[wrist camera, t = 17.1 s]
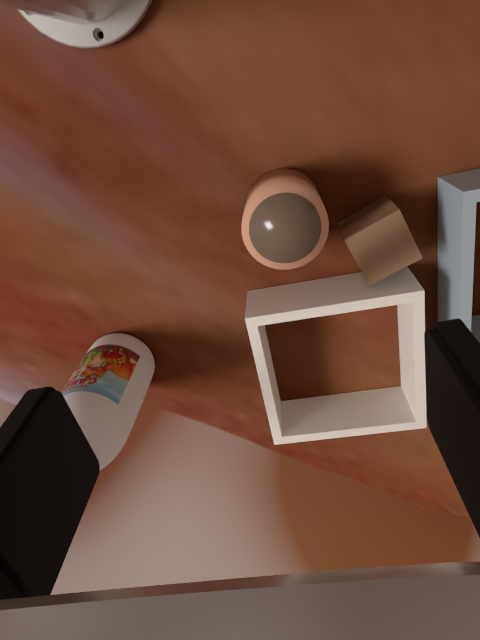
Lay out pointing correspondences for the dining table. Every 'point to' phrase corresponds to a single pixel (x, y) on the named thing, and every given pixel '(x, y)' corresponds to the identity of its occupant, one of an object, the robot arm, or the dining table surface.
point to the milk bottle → (110, 391)
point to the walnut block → (379, 240)
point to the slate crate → (457, 247)
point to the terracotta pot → (284, 220)
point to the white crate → (355, 407)
